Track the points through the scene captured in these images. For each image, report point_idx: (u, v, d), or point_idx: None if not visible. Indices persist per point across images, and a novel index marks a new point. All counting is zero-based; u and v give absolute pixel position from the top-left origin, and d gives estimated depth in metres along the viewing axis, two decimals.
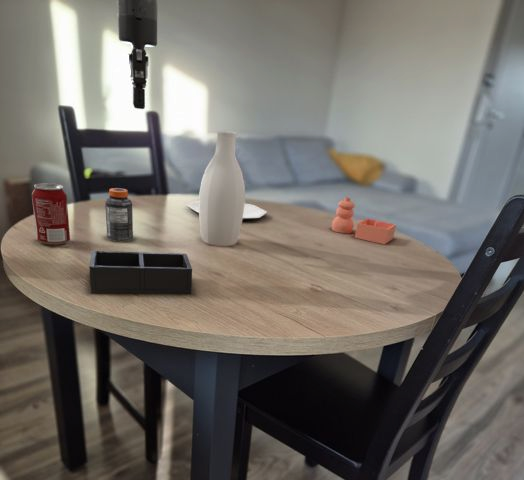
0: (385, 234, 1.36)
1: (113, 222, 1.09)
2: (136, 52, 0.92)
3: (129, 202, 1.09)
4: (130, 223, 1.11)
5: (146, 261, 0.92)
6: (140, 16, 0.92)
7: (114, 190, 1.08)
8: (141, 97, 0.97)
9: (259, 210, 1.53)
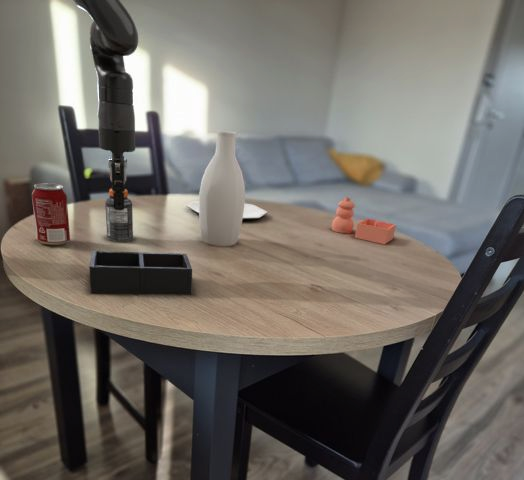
0: (385, 234, 1.36)
1: (113, 222, 1.09)
2: (115, 166, 1.00)
3: (129, 202, 1.09)
4: (130, 223, 1.11)
5: (146, 261, 0.92)
6: (118, 129, 1.00)
7: None
8: (120, 201, 1.06)
9: (259, 210, 1.53)
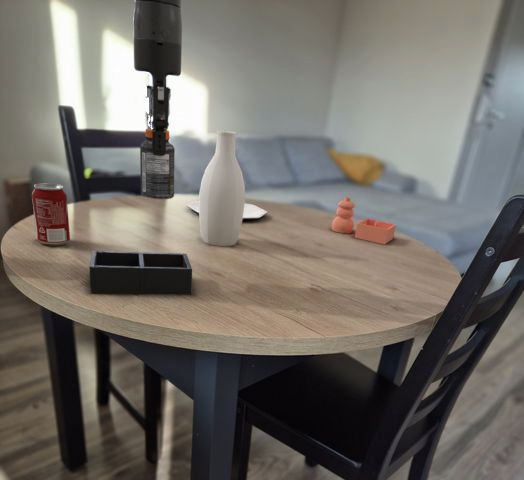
0: (385, 234, 1.36)
1: (151, 172, 0.83)
2: (157, 91, 0.74)
3: (171, 146, 0.83)
4: (172, 175, 0.85)
5: (146, 261, 0.92)
6: (162, 40, 0.74)
7: None
8: (162, 142, 0.80)
9: (259, 210, 1.53)
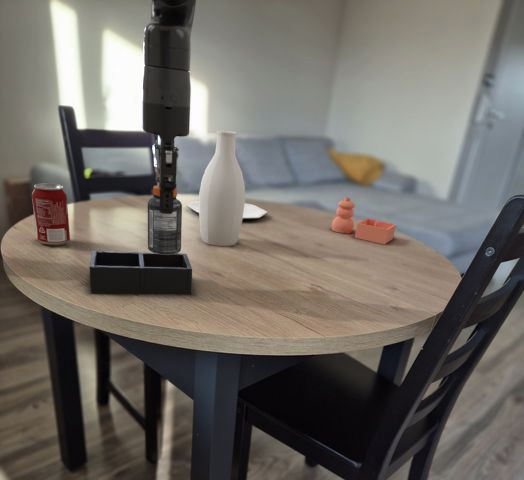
0: (385, 234, 1.36)
1: (158, 229, 0.83)
2: (165, 155, 0.74)
3: (179, 203, 0.83)
4: (179, 231, 0.85)
5: (146, 261, 0.92)
6: (170, 105, 0.74)
7: None
8: (169, 202, 0.80)
9: (259, 210, 1.53)
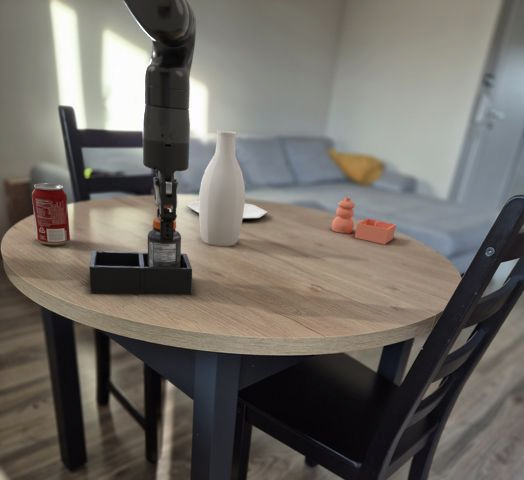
0: (385, 234, 1.36)
1: (157, 260, 0.86)
2: (165, 186, 0.76)
3: (178, 235, 0.86)
4: (178, 261, 0.88)
5: (146, 261, 0.92)
6: (170, 142, 0.76)
7: None
8: (169, 231, 0.81)
9: (259, 210, 1.53)
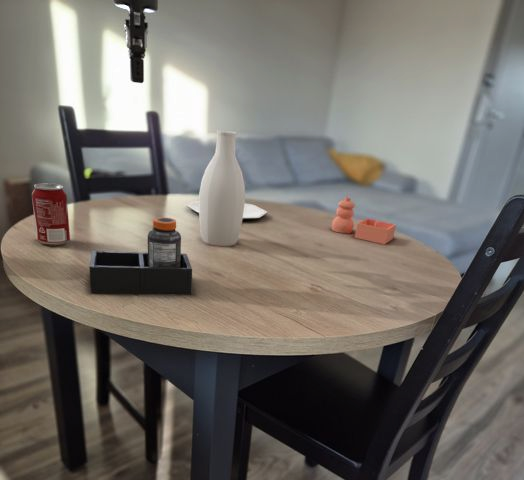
0: (385, 234, 1.36)
1: (157, 260, 0.86)
2: (134, 15, 0.80)
3: (178, 235, 0.86)
4: (178, 261, 0.88)
5: (146, 261, 0.92)
6: None
7: (160, 221, 0.84)
8: (139, 69, 0.85)
9: (259, 210, 1.53)
